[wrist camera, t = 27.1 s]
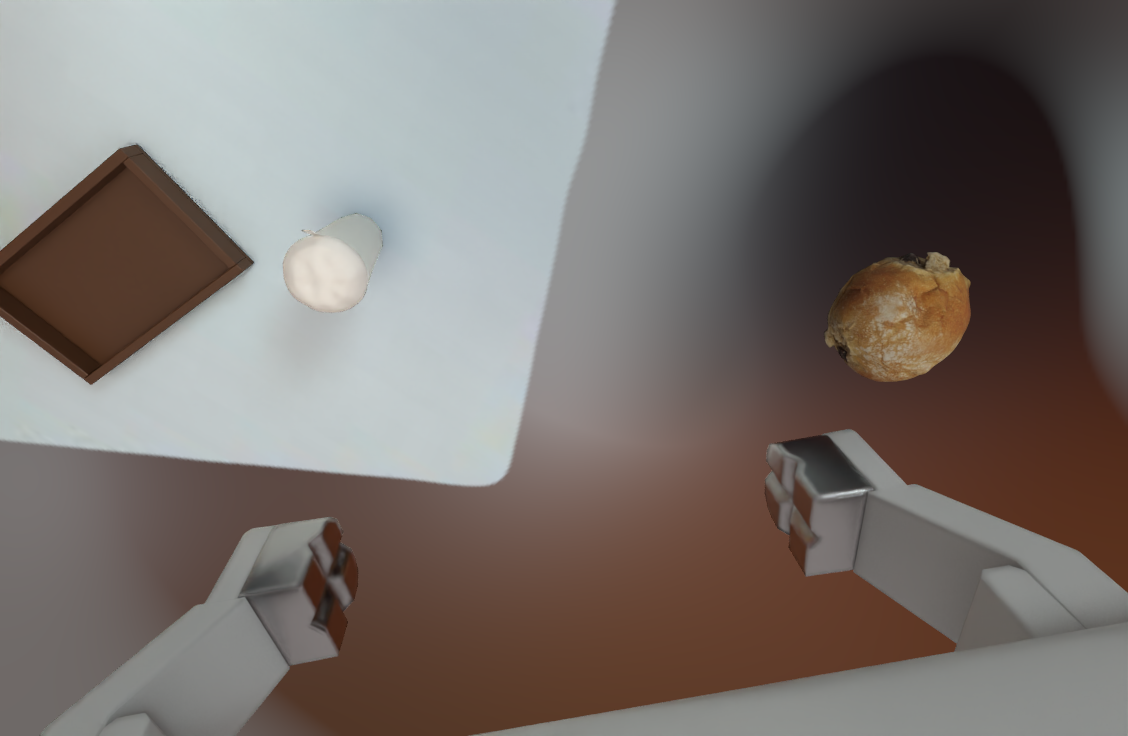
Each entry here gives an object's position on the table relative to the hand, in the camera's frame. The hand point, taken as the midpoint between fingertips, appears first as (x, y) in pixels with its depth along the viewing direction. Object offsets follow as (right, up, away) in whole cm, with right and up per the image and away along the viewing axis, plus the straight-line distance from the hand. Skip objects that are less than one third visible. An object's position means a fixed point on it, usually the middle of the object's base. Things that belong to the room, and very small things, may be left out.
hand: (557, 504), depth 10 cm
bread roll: (+26, +8, +34) cm, 44 cm away
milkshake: (-14, +12, +28) cm, 33 cm away
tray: (-30, +9, +27) cm, 42 cm away
